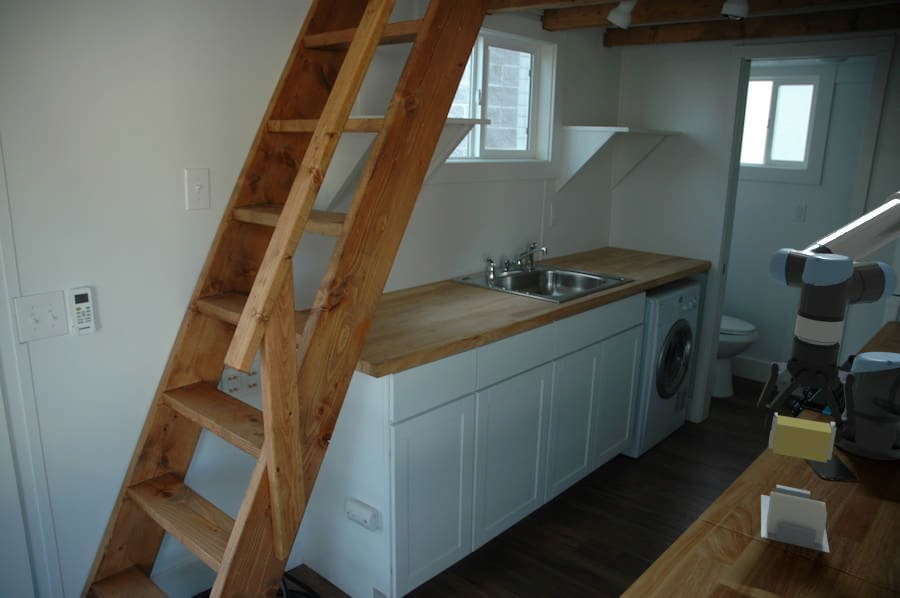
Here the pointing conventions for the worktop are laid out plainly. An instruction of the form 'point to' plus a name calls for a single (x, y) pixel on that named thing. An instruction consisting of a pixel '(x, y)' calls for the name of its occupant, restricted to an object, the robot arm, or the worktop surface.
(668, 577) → the worktop surface
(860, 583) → the worktop surface
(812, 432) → the butter stick brick
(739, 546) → the worktop surface
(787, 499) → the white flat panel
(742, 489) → the worktop surface
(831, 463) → the smartphone
